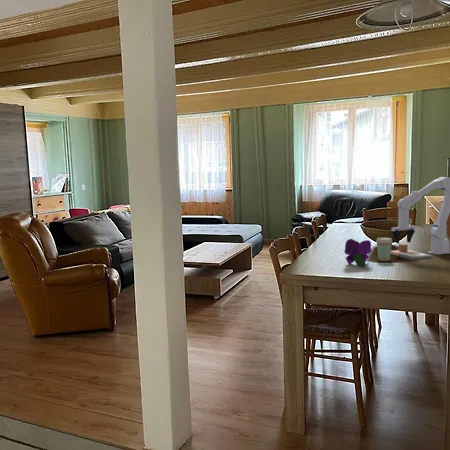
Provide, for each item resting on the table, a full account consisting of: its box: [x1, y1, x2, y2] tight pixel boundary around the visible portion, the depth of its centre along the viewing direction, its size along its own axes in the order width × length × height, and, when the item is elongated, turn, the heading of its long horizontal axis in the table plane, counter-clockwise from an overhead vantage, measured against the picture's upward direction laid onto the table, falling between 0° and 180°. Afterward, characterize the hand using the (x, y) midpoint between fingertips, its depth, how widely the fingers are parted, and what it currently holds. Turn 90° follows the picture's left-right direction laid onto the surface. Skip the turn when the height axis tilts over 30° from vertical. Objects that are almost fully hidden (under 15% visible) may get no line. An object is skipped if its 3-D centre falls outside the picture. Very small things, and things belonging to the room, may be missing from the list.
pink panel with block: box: [390, 243, 418, 257], centre depth 270 cm, size 13×8×6 cm, turn 105°
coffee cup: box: [375, 236, 393, 262], centre depth 255 cm, size 8×8×12 cm
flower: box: [343, 238, 372, 269], centre depth 241 cm, size 15×15×14 cm
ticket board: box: [398, 251, 433, 261], centre depth 261 cm, size 13×12×2 cm
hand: (403, 242), depth 270 cm, fingers open, 7 cm apart
